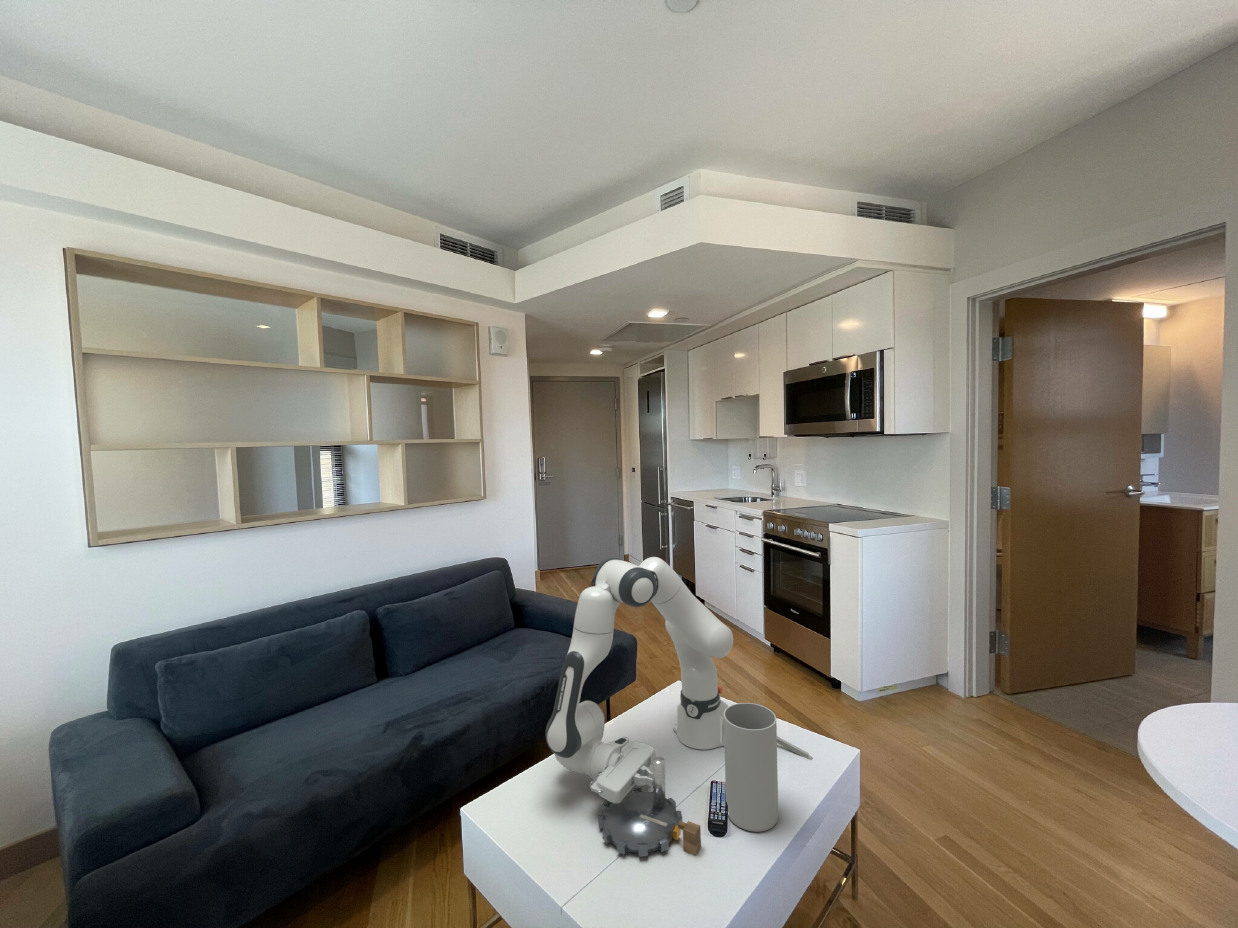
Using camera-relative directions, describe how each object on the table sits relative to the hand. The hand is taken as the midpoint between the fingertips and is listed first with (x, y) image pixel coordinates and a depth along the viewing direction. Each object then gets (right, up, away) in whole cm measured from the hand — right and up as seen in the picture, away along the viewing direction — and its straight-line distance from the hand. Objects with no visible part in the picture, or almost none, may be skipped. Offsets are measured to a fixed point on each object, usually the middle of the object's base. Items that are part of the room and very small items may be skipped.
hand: (654, 780), depth 130 cm
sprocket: (-4, -8, -5) cm, 10 cm away
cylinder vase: (+24, -7, -2) cm, 25 cm away
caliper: (+39, -6, +25) cm, 46 cm away
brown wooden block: (+8, -8, -12) cm, 16 cm away
